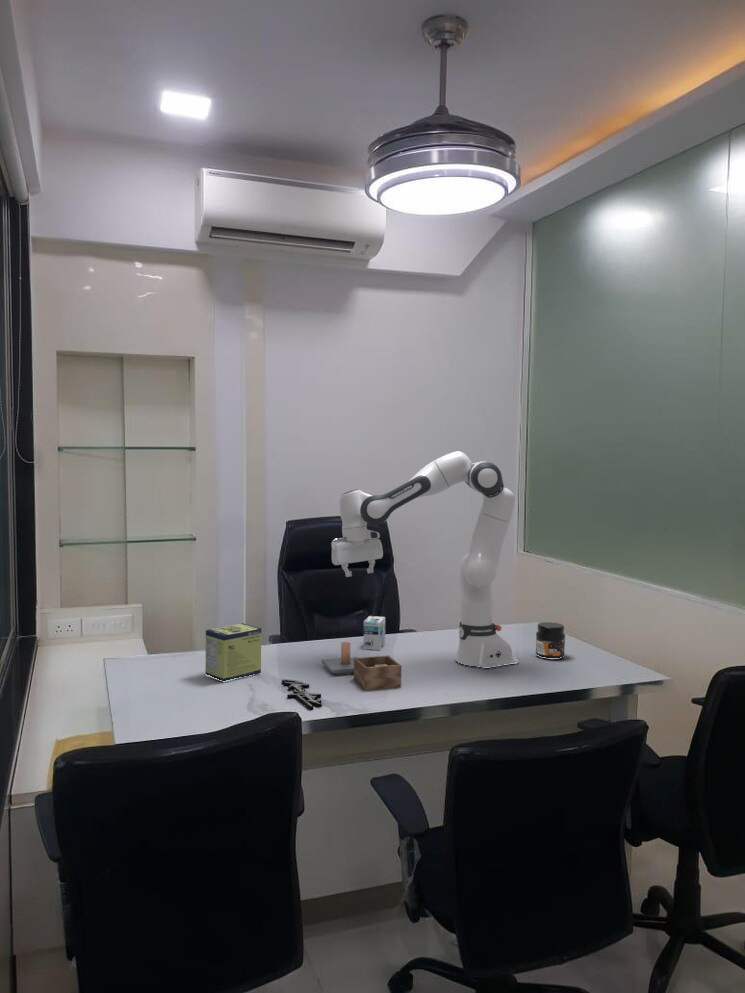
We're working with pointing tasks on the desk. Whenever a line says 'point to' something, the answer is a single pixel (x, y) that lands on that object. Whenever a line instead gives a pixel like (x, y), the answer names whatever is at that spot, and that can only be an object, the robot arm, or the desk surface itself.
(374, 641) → the light bulb box
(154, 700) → the desk surface
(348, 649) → the lid
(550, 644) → the supplement container
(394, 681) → the box
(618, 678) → the desk surface
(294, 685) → the nameplate
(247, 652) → the protein box
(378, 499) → the robot arm
